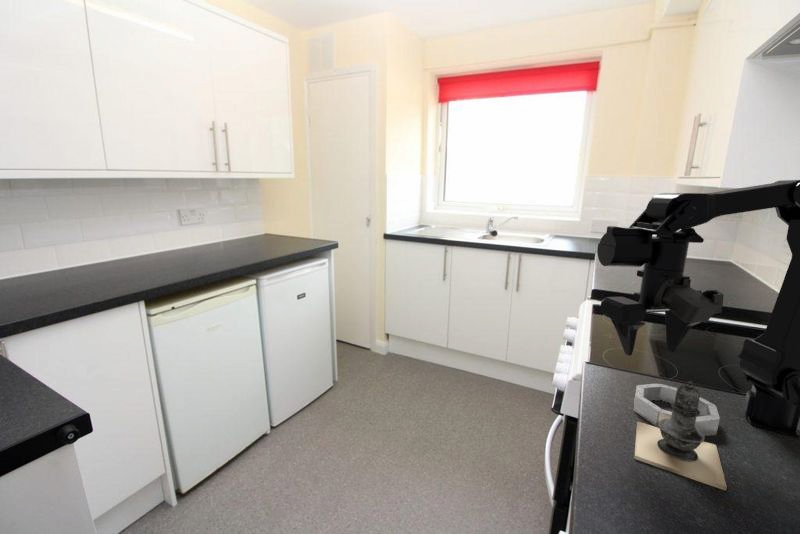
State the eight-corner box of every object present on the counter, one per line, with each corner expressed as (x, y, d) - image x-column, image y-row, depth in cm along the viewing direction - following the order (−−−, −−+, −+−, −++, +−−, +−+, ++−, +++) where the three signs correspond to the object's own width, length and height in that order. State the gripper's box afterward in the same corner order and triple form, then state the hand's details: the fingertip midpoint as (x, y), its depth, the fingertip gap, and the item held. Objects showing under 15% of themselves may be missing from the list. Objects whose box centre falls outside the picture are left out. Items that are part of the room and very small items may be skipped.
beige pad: (715, 448, 62) (715, 445, 62) (726, 490, 53) (726, 487, 53) (636, 424, 68) (637, 421, 68) (634, 458, 59) (634, 455, 58)
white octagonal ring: (710, 411, 73) (713, 397, 72) (719, 445, 62) (723, 429, 62) (635, 391, 79) (637, 378, 79) (632, 419, 69) (635, 404, 69)
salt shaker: (655, 433, 64) (666, 368, 62) (698, 447, 61) (712, 379, 59) (654, 452, 59) (667, 382, 57) (702, 468, 56) (717, 395, 54)
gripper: (659, 279, 55) (643, 378, 58) (758, 276, 59) (739, 369, 62) (603, 265, 65) (592, 349, 68) (690, 263, 69) (676, 343, 72)
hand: (649, 353), depth 67 cm, fingers open, 9 cm apart
